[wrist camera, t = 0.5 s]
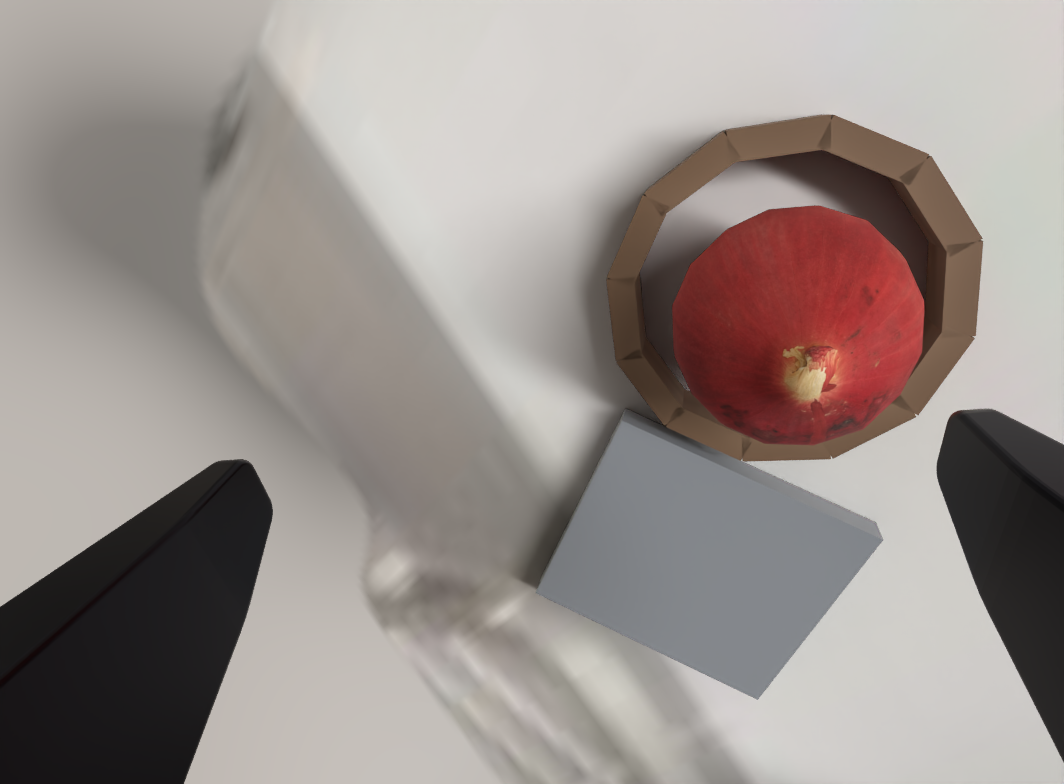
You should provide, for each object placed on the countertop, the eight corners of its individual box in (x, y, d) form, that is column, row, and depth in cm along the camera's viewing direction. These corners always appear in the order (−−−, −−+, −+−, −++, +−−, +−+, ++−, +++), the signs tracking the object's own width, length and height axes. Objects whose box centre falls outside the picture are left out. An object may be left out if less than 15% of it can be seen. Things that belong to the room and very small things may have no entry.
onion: (911, 339, 20) (1029, 468, 12) (723, 408, 22) (730, 552, 15) (840, 154, 18) (925, 179, 11) (647, 247, 20) (615, 319, 13)
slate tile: (875, 522, 22) (883, 539, 21) (755, 679, 26) (757, 699, 25) (625, 408, 23) (622, 420, 22) (541, 576, 26) (535, 592, 25)
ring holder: (1038, 204, 18) (1067, 211, 16) (839, 484, 22) (848, 510, 20) (702, 64, 18) (702, 60, 17) (571, 362, 22) (561, 379, 21)
